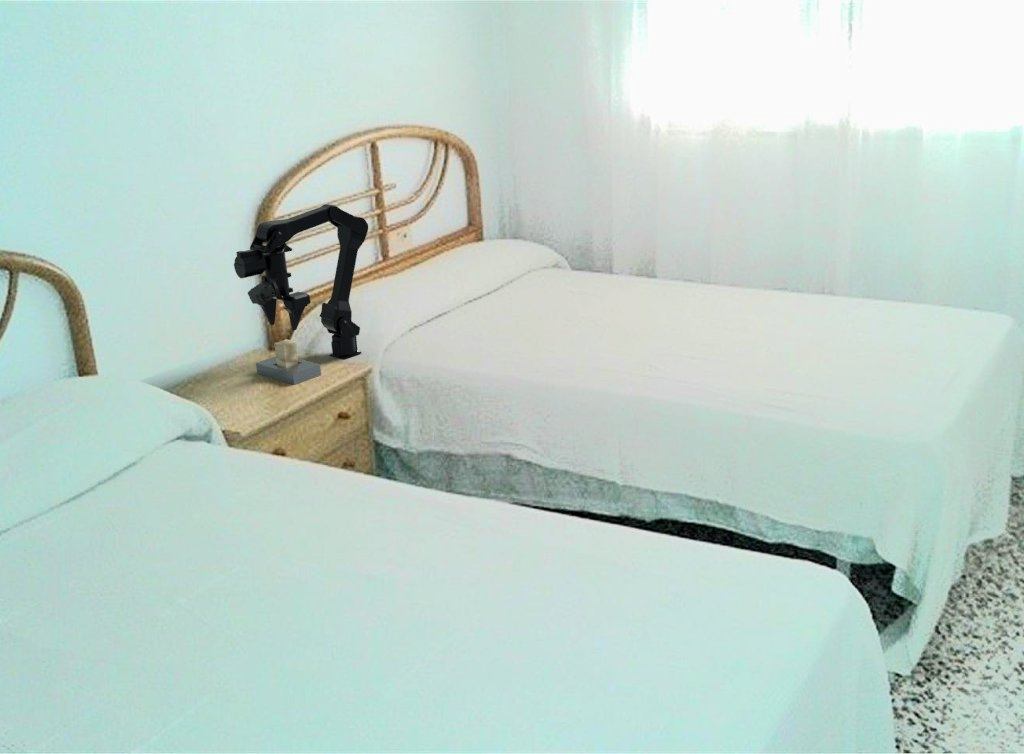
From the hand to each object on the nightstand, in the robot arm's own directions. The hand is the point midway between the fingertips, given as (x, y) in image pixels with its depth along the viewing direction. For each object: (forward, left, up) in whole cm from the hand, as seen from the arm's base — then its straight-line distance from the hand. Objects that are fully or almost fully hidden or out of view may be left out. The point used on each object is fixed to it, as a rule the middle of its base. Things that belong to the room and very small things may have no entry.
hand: (283, 327), depth 277 cm
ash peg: (+2, +2, -12) cm, 13 cm away
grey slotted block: (+2, +2, -12) cm, 13 cm away
